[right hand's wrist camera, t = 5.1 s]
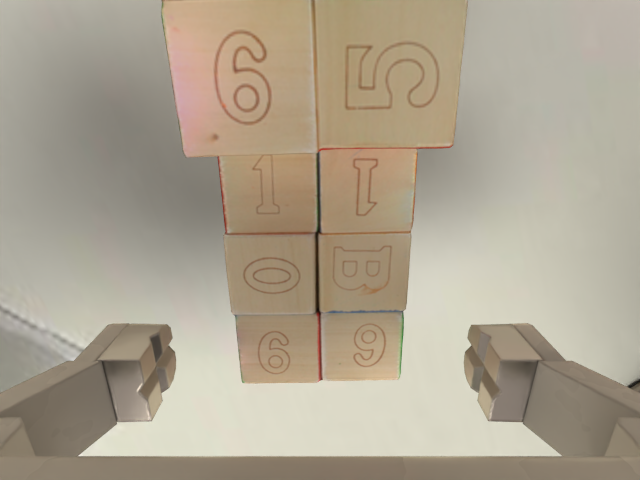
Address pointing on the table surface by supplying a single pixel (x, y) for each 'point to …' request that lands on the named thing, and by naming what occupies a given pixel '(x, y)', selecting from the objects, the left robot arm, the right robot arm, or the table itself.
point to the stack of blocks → (316, 165)
